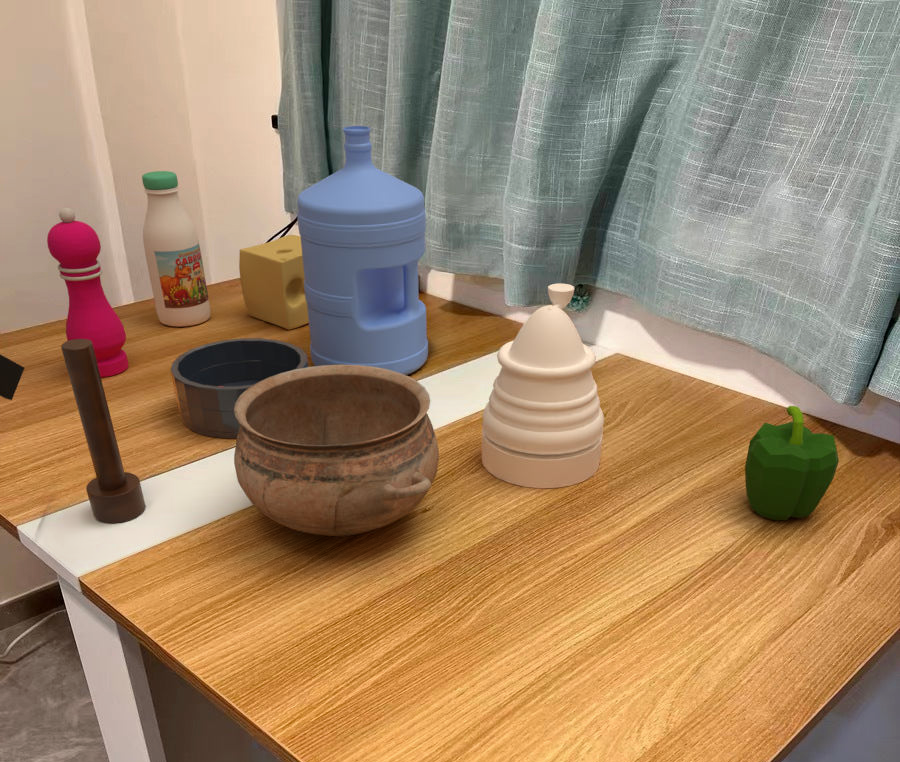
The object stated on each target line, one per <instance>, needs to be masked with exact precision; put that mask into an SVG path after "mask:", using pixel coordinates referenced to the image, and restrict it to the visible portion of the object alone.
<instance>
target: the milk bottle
mask: <svg viewBox="0 0 900 762" xmlns="http://www.w3.org/2000/svg"><path fill="white" fill-rule="evenodd" d="M141 180H142V185H143V188H144V193H146V196H147V197H146V198H147V206H146V213H145V214H146V215H145V218H144V222H143V228H142V239H143V248H144V254H145V261H146V265H147V271H148V276H149V280H150V286H151V291H152V295H153V300H154V305H155V306H154V307H155V312H156V315H157V319H158V320H159V322H160V324H163V325H165V326H169V327H190V326H195V325H199V324H203V323H205V322H206V321H208V320H209V319H210V317H211V313H212V312H211V305H210V299H209V293H208V287H207V286H208V285H207V281H206V275H205V268H204V263H203V257H202V251H201V247H200V246H201V245H200V242H199V237H198V234H197V233H198V232H197V230H196V228H195V225H194V223H193V221H192V220H191V218H190V217H189V214H188V213H187V212H186V210H185V208H184V206H183V204H182V201H181V199H180V197H179V190H180V188H179V181H178V176H177V174H176V173H175V172H174V171H168V170H156V171H148V172H145V173H143V174H142V176H141Z"/></svg>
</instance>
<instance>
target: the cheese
mask: <svg viewBox="0 0 900 762" xmlns="http://www.w3.org/2000/svg"><path fill="white" fill-rule="evenodd" d="M238 261H239V262H238V263H239V264H238V265H239V267H238V268H239V270H238V271H239V278H240V285H241V291H242V295H243V296H242V297H243V301H244V305H245V308H246V311H247V314H248V315H249V316H250V317H253V318H255V319H258V320H260V321H263V322H267V323H269V324H272V325H275V326H277V327H280V328H283V329H286V330H287V331H291V330H293V329H296V328H299V327H302V326H306V325H307V324H309V319H308V308H307V302H306V298H305V290H304V280H305V278H304V267H303V257H302V247H301V236H300V235H296V234H287V235H285V236H282V237H279V238H277V239H274V240H271V241H268V242H264V243H261V244H257V245H253V246H248V247H244V248H240V249H239V260H238Z"/></svg>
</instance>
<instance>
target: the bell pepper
mask: <svg viewBox="0 0 900 762" xmlns="http://www.w3.org/2000/svg"><path fill="white" fill-rule="evenodd" d="M785 411H786V413H787V415H788V416H790V417H791V418H792V421H790V422H785V423H782V424H778V425H775V424H772V423H769V422H764V423H763V424H762V425H761V426H760V428H759V429H758V430H757V432H755V434H754V435H753V437H752V438H751V439H750V441H749V444H748V449H747V453H746V460H745V464H744V475H745V476H744V477H745V478H744V479H745V481H744V482H745V491H746V497H747V501H748V503H749V506H750V508H751V510H752V511H754V512H755V513H756V514H758V516H761V517H762V518H766V519H769V520H773V521H787V520H788V519H789V518H790V517H792V518H796V519H799V518H800V519H801V518H807V517H809V516H810V515H811V514H812V513H814V511H815V510H816V508H817V507H818V505H819V503H820V502H821V501H822V499H823V497H824V496H825V494H826V492H827V491H828V489H829V487H830V486H831V483H832V482H833V480H834V478H835V475H836V471H837V468H838V465H839V461H840V460H839V454H838V448H837V445H836V439H835V436H834V435H833V434H827V433H822V432H819V433H818V432H817V433H814V432H812V431H811V429H810V428H808V427H807V426H805V419H804V414H803V412H802V410H801V408H800V407H798V406H796V405H789V406H788V407H787V408H786V410H785Z"/></svg>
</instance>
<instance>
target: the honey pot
mask: <svg viewBox="0 0 900 762" xmlns="http://www.w3.org/2000/svg"><path fill="white" fill-rule="evenodd" d="M547 293H548V294H547V295H548V298H549V300H550V302H551V303H552V304H548V305H543V306H541V307H539V308H537V310H535V311H534V312H533V313H532V314H530V316H529V317H528V318H527V319H526V320H525V322H524V323H523V325H522V326H521V327H520V329H519V331H518V333H517V334H516V336H515V338H514V339H513V340H511V341H509V342H506V343H504V344H503V345H502V346H501V347H500V348H499V350H498V351H497V354H496V358H497V363H498V364H499V365H500V366H501V368H500V371H499V374H498V375H497V376H496V378H494V381H493V383H492V387H493V388H492V390H491V393H490V395H489V396H488V402H487V403H486V405H485V407H484V409H483V411H482V423H481V425H482V430H481V462H482V465H483V467H484V468H485V470H486V471H487V472H488V473H489V474H491V475H492V476H494V477H495V478H497V479H499V480H501V481H504V482H506V483H509V484H512V485H516V486H520V487H523V488H524V487H525V488H526V487H527V488H534V489H557V488H564V487H571V486H574V485H576V484H580V483H583V482H585V481H586V480H588V479H590V478H592V477H593V476H594V475H595V474H596V472H597V471H598V470H599V467H600V463H601V455H602V445H603V437H604V436H603V433H604V424H605V416H604V412H603V410H602V408H601V406H600V405H601V401H600V398H599V395H598V390H599V389H598V385H597V382H596V381H595V379H594V377H593V373H592V368H593V367H594V366H595V364H596V360H597V356H596V354H595V352H594V350H593V349H592V348H591V347H590V346H588V345H587V344H584V343H583V342H582V341H583V340H582V339H581V336H580V334H579V332H578V330H577V327H576V326H575V324H574V323H573V321H572V320H571V318H570V316H568V314H567V313H566V311H564V310H563V309H564V308H565V307H566V306H567V305H569V303H570V302H571V301H572V299H573V297H574V293H575V287H574V285H572V284H568V283H553V284H552V283H551V284H550V285H548V286H547Z"/></svg>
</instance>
